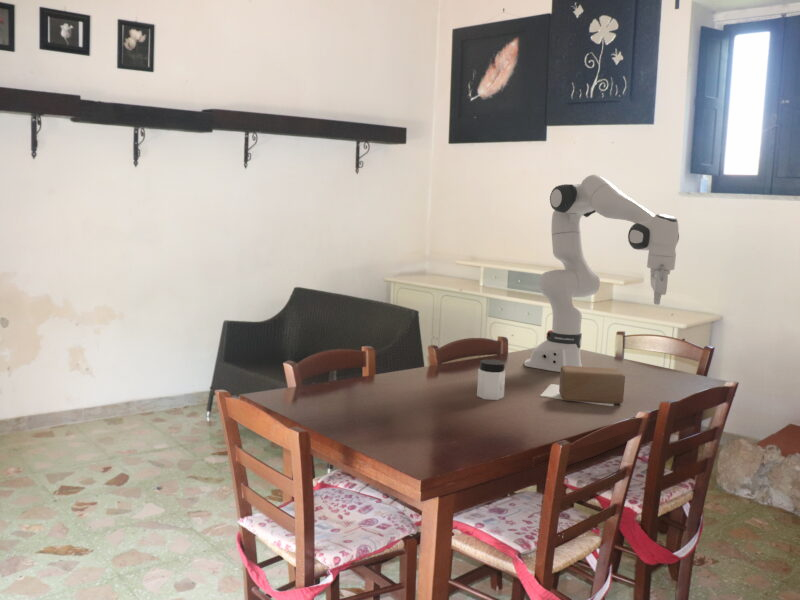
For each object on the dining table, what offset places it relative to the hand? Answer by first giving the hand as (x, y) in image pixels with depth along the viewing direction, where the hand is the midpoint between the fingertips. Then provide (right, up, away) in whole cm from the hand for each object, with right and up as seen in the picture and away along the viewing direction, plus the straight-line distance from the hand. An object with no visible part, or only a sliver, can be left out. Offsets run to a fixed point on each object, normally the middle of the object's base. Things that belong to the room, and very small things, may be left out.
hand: (656, 303), depth 271 cm
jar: (-57, -31, -3) cm, 65 cm away
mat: (-25, -31, +4) cm, 40 cm away
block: (-13, -28, -4) cm, 30 cm away
